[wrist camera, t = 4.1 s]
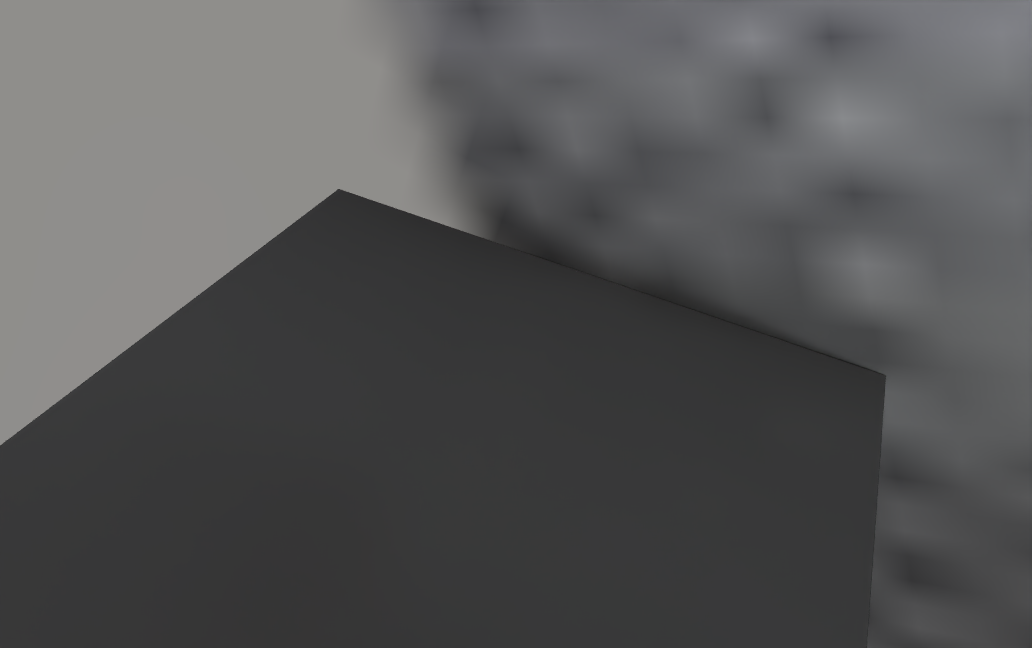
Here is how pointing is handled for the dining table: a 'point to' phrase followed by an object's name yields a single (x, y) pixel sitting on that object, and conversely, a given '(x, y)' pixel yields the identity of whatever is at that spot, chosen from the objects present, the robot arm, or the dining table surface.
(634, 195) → the dining table surface
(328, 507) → the gray cube
